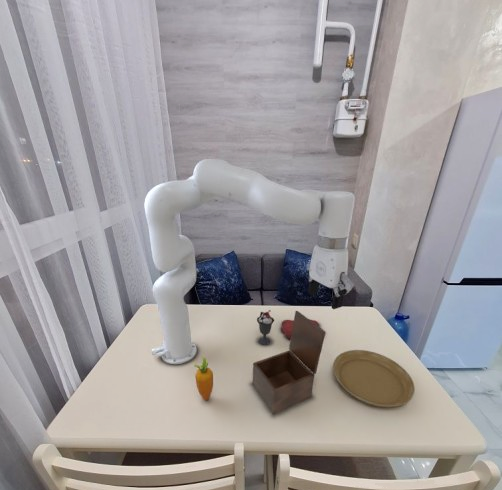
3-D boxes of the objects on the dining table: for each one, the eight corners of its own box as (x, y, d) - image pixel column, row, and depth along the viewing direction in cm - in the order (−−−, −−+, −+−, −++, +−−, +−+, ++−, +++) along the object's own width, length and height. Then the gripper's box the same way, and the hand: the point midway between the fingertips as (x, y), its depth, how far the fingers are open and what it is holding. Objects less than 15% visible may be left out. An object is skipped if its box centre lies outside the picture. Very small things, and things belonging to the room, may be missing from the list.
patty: (285, 341, 105) (285, 337, 104) (277, 322, 117) (277, 318, 116) (327, 337, 107) (327, 333, 106) (314, 319, 119) (315, 315, 119)
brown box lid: (323, 332, 70) (325, 332, 70) (295, 311, 80) (297, 310, 81) (313, 374, 76) (315, 373, 76) (288, 349, 86) (290, 348, 86)
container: (273, 414, 74) (274, 391, 70) (252, 384, 84) (252, 362, 80) (311, 397, 80) (314, 375, 76) (287, 370, 90) (289, 350, 86)
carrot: (207, 409, 75) (203, 369, 69) (194, 402, 78) (189, 362, 71) (218, 398, 79) (215, 358, 73) (205, 391, 81) (202, 352, 75)
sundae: (272, 347, 101) (274, 314, 95) (254, 345, 102) (255, 311, 96) (274, 337, 107) (276, 305, 100) (257, 335, 108) (258, 303, 102)
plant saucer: (431, 407, 77) (434, 399, 75) (354, 418, 73) (357, 410, 72) (381, 353, 98) (383, 346, 97) (320, 360, 95) (321, 353, 93)
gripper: (300, 236, 73) (295, 291, 81) (346, 253, 59) (336, 317, 67) (321, 233, 76) (314, 286, 84) (370, 248, 63) (357, 310, 70)
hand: (324, 300), depth 75 cm, fingers open, 9 cm apart
